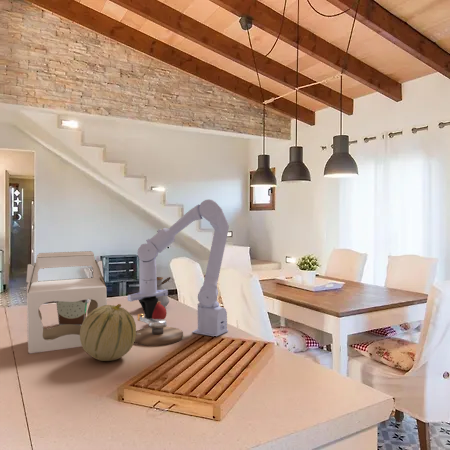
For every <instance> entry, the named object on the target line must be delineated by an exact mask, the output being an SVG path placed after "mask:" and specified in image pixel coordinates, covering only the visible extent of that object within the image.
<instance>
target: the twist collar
mask: <svg viewBox="0 0 450 450" xmlns="http://www.w3.org/2000/svg"><path fill="white" fill-rule="evenodd" d="M137 321H138V322H143V323H146V324H148V328H164V327H168V326H167V324H168V323H167V320H166V318H165V319H152V318H149V317H146V316H145V313H137Z"/></svg>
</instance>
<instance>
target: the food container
mask: <svg viewBox="0 0 450 450" xmlns="http://www.w3.org/2000/svg"><path fill="white" fill-rule="evenodd" d="M54 303H55V304H56V310H57V311H56V312H57V319H58V320H57V321H58V326H60V325H64V324H74V325H82V323H83V321H84V319H85V318H86V317H87V310H88V304H90V299H87V300H81V301H76V302H63V301H54Z"/></svg>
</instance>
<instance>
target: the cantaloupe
mask: <svg viewBox="0 0 450 450" xmlns="http://www.w3.org/2000/svg"><path fill="white" fill-rule="evenodd" d="M136 331H137V324H136V321H135V318H134V317H133V315H132V314H131V312H129V311H128V310H127V309H126V308H124V307H122V304H121V303H117V305H114V304H113V305H111V304H107V305H104V306H101V307H98V308H96V309H94V310H93V311H92V312H90V313H89V314H88V315H87V314H86V318H85V319H84V321H83V323H82V325H81V329H80V341H81V344H82V347H81V348H82V350H84V352H85V353H86V354H87V355H89V356H90V357H92V358H93V359H94V360H95V359H96V360H98V361H100V362H111V361H116V360H119V359H120V358H122V357H124V356H125V355H127V354H128V352H130V350H131V348H133V346H134V344H135V343H134V342H135V338H136Z"/></svg>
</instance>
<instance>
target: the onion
mask: <svg viewBox="0 0 450 450" xmlns="http://www.w3.org/2000/svg"><path fill="white" fill-rule="evenodd" d="M160 303H161V302H160V301H159V302H157V304H156V306H155V308H154V311H153V315H152V319H165V320H166V317H167V314H168V313H167V309H166V307H164V306H163V305H161V304H160Z"/></svg>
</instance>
